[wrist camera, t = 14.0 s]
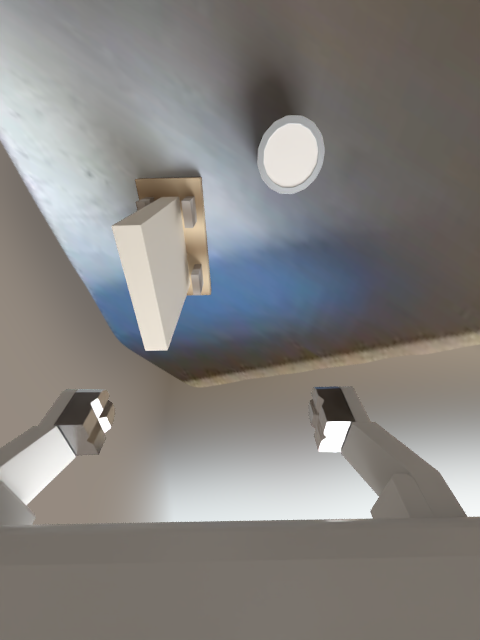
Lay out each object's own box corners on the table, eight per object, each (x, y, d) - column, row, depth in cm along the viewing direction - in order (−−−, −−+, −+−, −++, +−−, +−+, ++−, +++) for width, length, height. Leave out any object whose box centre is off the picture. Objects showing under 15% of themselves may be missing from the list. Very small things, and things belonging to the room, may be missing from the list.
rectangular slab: (153, 197, 33) (98, 226, 20) (179, 196, 33) (140, 225, 20) (169, 283, 40) (135, 350, 26) (190, 283, 40) (167, 350, 26)
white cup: (317, 166, 33) (335, 168, 27) (270, 198, 35) (277, 207, 29) (293, 107, 30) (307, 96, 24) (242, 146, 32) (244, 145, 26)
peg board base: (138, 178, 33) (123, 182, 29) (201, 177, 33) (196, 180, 29) (161, 291, 42) (152, 308, 37) (211, 290, 42) (208, 307, 37)
